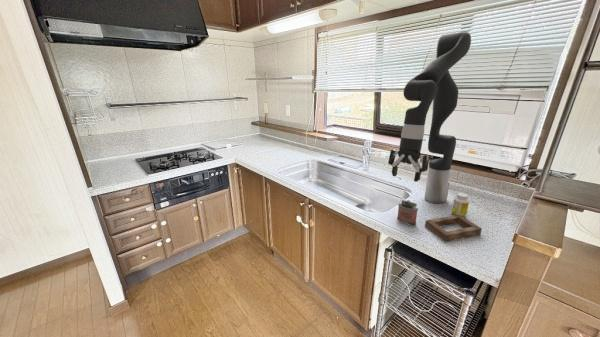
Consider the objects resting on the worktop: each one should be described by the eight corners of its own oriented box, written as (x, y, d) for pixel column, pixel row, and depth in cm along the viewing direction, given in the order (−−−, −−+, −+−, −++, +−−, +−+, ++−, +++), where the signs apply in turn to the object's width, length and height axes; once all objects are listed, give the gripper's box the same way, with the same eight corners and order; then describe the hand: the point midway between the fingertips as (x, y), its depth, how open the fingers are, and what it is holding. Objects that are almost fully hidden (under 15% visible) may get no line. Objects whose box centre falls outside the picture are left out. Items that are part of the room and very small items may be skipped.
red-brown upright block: (395, 219, 108) (397, 199, 104) (398, 216, 110) (400, 197, 107) (414, 226, 102) (416, 205, 99) (417, 223, 104) (419, 202, 101)
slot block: (457, 220, 105) (458, 214, 104) (480, 235, 95) (481, 228, 94) (424, 226, 102) (425, 220, 101) (445, 242, 92) (446, 235, 91)
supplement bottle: (467, 214, 109) (471, 194, 106) (464, 219, 105) (468, 198, 102) (453, 210, 113) (456, 190, 109) (449, 215, 109) (453, 195, 105)
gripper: (436, 139, 88) (427, 181, 92) (398, 134, 98) (392, 173, 102) (427, 140, 83) (419, 185, 87) (389, 134, 93) (383, 175, 97)
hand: (404, 178), depth 94 cm, fingers open, 8 cm apart
